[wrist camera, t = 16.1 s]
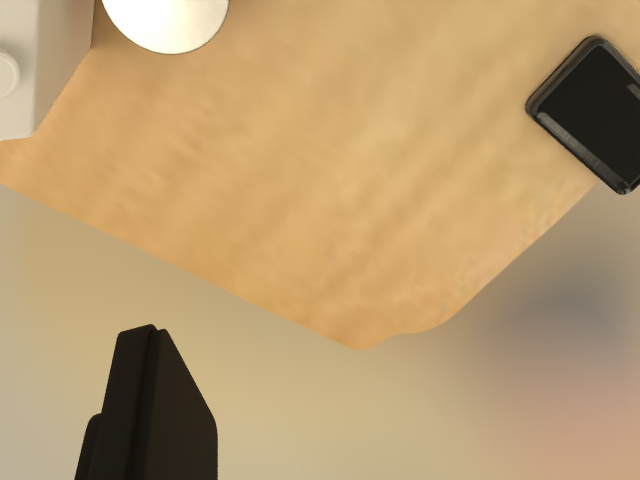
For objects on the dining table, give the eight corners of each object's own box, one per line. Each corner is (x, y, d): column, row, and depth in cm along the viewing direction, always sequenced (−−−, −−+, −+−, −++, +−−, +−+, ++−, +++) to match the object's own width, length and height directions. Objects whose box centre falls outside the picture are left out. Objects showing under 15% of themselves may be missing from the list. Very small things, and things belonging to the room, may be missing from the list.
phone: (623, 198, 52) (526, 113, 45) (616, 193, 53) (520, 108, 46) (695, 134, 49) (602, 32, 43) (686, 129, 50) (594, 28, 43)
